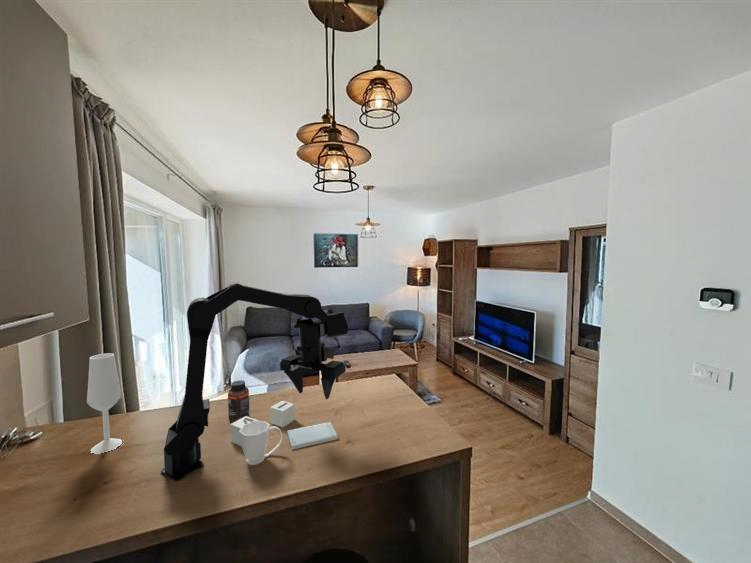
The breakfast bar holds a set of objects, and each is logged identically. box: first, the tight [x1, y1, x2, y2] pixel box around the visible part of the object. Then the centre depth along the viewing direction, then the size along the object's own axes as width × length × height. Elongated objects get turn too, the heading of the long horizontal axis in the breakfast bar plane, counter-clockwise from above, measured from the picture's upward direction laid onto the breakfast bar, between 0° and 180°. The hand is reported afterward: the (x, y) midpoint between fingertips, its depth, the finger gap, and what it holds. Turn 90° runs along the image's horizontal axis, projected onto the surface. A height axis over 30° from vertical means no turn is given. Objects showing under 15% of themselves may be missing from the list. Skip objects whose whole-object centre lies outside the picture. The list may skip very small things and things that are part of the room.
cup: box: [239, 420, 284, 466], centre depth 77 cm, size 7×10×8 cm
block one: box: [269, 400, 296, 428], centre depth 95 cm, size 5×5×5 cm
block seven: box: [230, 416, 260, 447], centre depth 85 cm, size 5×5×5 cm
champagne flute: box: [86, 352, 123, 455], centre depth 81 cm, size 7×7×24 cm
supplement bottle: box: [227, 379, 251, 423], centre depth 96 cm, size 6×6×11 cm
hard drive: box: [286, 421, 339, 451], centre depth 87 cm, size 2×8×12 cm
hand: (313, 395), depth 88 cm, fingers open, 9 cm apart
